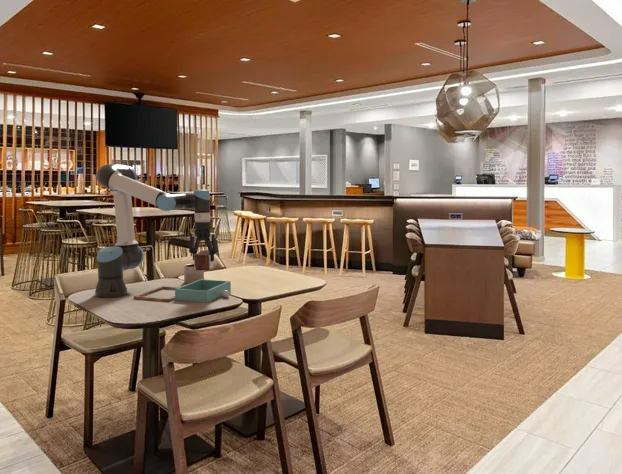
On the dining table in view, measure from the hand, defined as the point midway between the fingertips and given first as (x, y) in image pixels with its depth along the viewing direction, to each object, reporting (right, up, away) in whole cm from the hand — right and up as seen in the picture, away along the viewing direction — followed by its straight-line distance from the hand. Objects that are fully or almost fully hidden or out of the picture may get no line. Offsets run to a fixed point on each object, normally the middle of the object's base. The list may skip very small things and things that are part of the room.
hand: (203, 267), depth 261 cm
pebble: (+11, -15, -2) cm, 19 cm away
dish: (0, -14, +2) cm, 14 cm away
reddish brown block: (0, -1, +1) cm, 2 cm away
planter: (-12, -11, +34) cm, 38 cm away
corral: (-19, -14, +3) cm, 24 cm away
